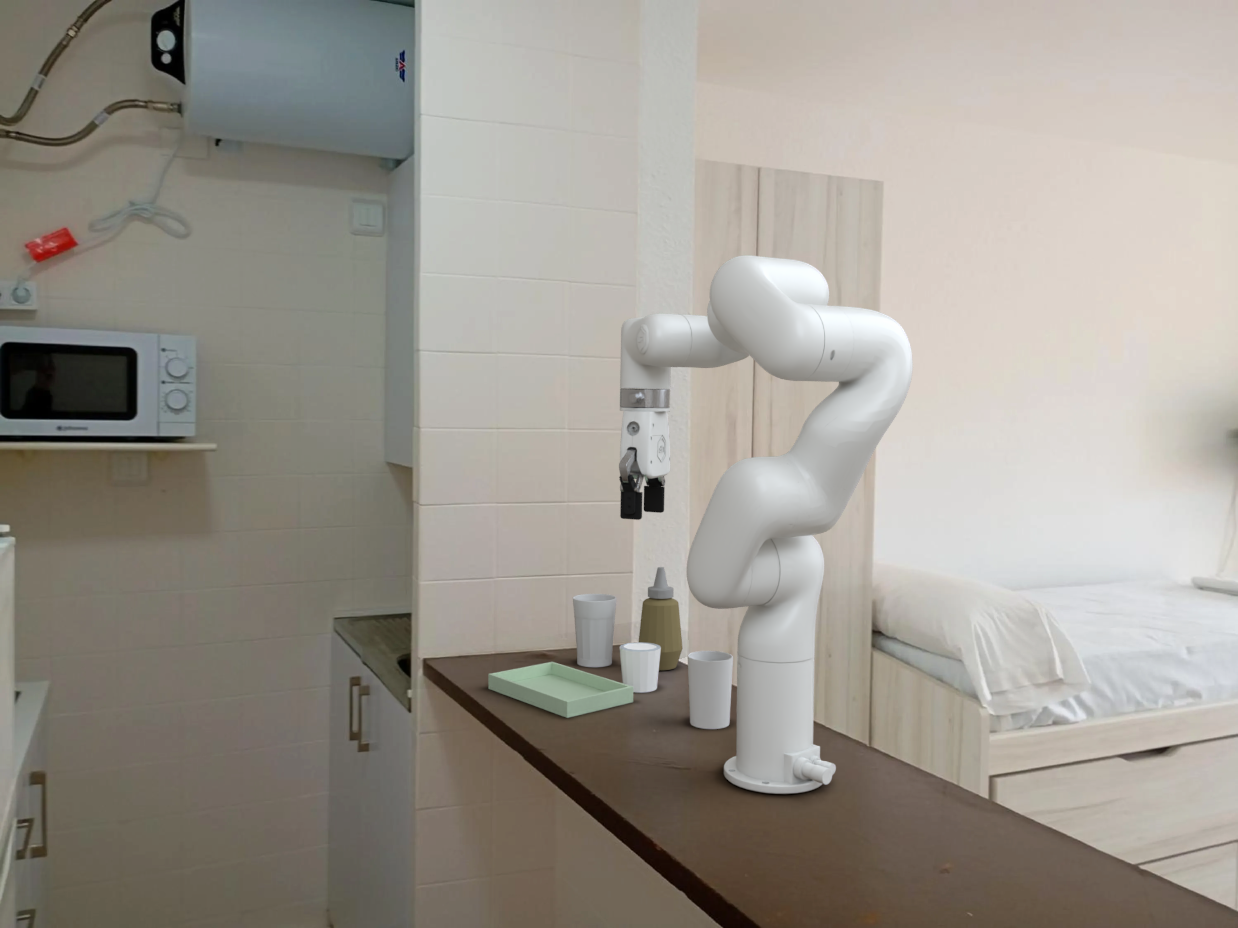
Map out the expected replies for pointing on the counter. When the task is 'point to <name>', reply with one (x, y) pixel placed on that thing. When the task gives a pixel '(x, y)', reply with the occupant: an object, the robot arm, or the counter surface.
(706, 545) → the robot arm
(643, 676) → the white tapered cup
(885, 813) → the counter surface
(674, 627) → the squeeze bottle
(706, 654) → the white tumbler
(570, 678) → the tray
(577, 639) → the cup
